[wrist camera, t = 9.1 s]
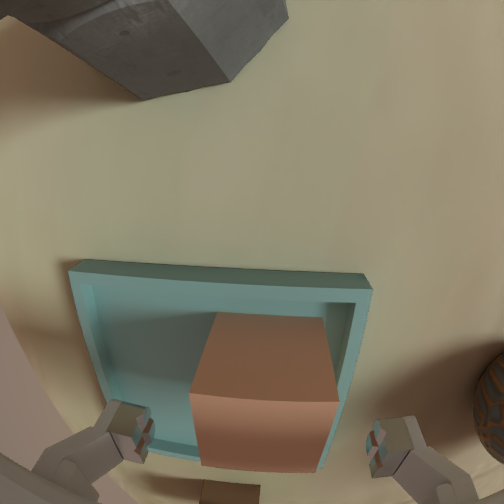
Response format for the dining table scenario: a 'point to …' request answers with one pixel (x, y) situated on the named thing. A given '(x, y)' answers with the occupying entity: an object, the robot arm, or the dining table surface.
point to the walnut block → (229, 493)
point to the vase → (491, 409)
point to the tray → (199, 330)
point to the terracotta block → (264, 393)
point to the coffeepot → (156, 37)
